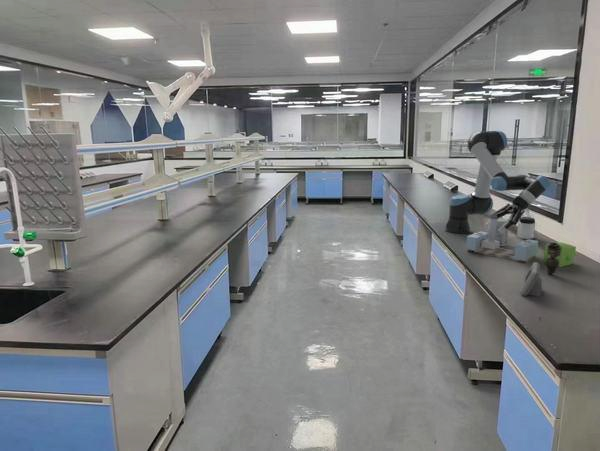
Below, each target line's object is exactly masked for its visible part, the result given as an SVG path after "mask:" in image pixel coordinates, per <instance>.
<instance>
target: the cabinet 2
mask: <svg viewBox="0 0 600 451" xmlns="http://www.w3.org/2000/svg"><path fill="white" fill-rule="evenodd" d="M538 248H539V240H534V239H525V240H522V242H519V243H518V244H515V249H514V251H515V256H514V259H518V260H523V261H525V260H527V259H529V258H531V257H533V256H534V255H535V256H536V255H537V254H538Z"/></svg>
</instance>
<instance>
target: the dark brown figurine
mask: <svg viewBox="0 0 600 451" xmlns="http://www.w3.org/2000/svg"><path fill="white" fill-rule="evenodd" d="M549 244H550V245H548V246H547V247H548V249H547V250H548V252H547V253H548V254H549V255H550V258H547V259H546V263H545V266H546V268H547V272H546V273H547V274H548V275H550V276H551V275H552V274H555V273H556V272H555V271H556V269H557V268H559V267H558V266H559V260H558V259H556V257H558V256H559V255H560V252H561V249H562V247H561V246H560V245H559V244H557V243H556V242H549Z"/></svg>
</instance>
